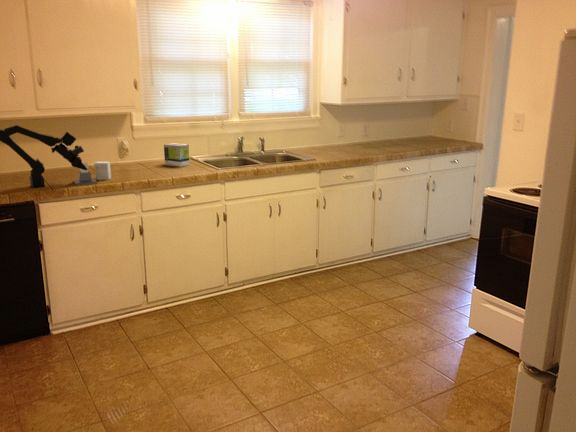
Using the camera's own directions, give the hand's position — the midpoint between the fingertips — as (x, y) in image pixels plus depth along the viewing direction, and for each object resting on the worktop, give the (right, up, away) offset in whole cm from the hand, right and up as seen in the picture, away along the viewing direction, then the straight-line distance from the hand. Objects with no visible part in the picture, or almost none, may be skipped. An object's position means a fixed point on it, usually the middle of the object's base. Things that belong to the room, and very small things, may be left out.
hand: (86, 169), depth 320 cm
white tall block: (-1, -6, +1) cm, 6 cm away
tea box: (+42, +8, +58) cm, 72 cm away
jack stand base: (-1, -8, +2) cm, 8 cm away
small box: (+6, -5, +12) cm, 14 cm away
